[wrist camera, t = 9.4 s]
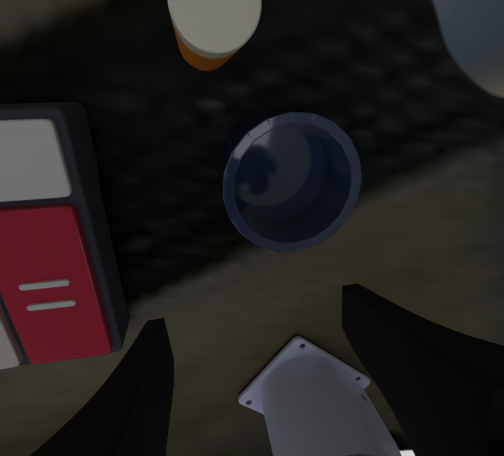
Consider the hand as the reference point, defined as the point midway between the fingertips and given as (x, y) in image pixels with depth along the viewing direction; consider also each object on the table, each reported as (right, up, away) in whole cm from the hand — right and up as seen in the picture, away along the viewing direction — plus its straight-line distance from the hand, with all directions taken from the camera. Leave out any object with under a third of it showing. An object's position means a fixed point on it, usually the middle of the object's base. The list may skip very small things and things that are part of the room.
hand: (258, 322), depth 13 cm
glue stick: (-3, +14, +5) cm, 15 cm away
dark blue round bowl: (+1, +7, +9) cm, 11 cm away
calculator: (-15, +3, +7) cm, 17 cm away
